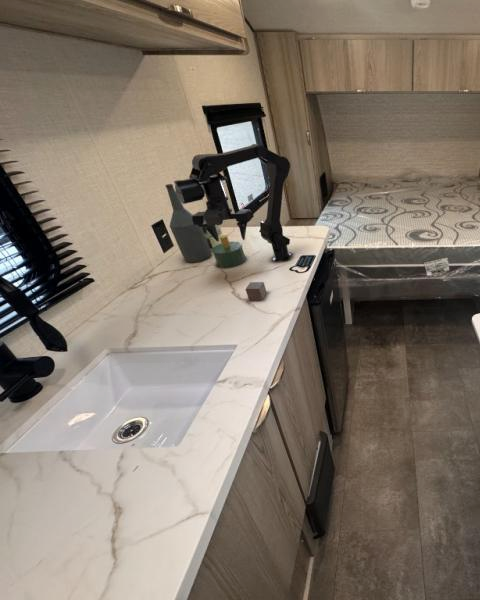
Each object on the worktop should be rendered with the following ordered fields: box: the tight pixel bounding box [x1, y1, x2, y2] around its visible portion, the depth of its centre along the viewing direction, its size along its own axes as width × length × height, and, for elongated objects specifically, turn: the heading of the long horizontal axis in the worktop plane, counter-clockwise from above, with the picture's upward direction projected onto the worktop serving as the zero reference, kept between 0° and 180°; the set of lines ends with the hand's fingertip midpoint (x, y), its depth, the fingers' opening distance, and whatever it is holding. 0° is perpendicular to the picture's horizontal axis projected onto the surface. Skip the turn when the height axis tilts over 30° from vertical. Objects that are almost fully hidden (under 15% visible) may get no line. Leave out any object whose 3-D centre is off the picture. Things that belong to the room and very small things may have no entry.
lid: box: [211, 234, 243, 255], centre depth 128 cm, size 11×11×6 cm
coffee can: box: [193, 213, 224, 251], centre depth 142 cm, size 10×10×14 cm
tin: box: [213, 247, 246, 268], centre depth 131 cm, size 10×10×6 cm
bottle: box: [165, 183, 212, 264], centre depth 128 cm, size 10×10×30 cm
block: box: [245, 281, 268, 302], centre depth 108 cm, size 4×4×4 cm
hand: (231, 240), depth 116 cm, fingers open, 9 cm apart
